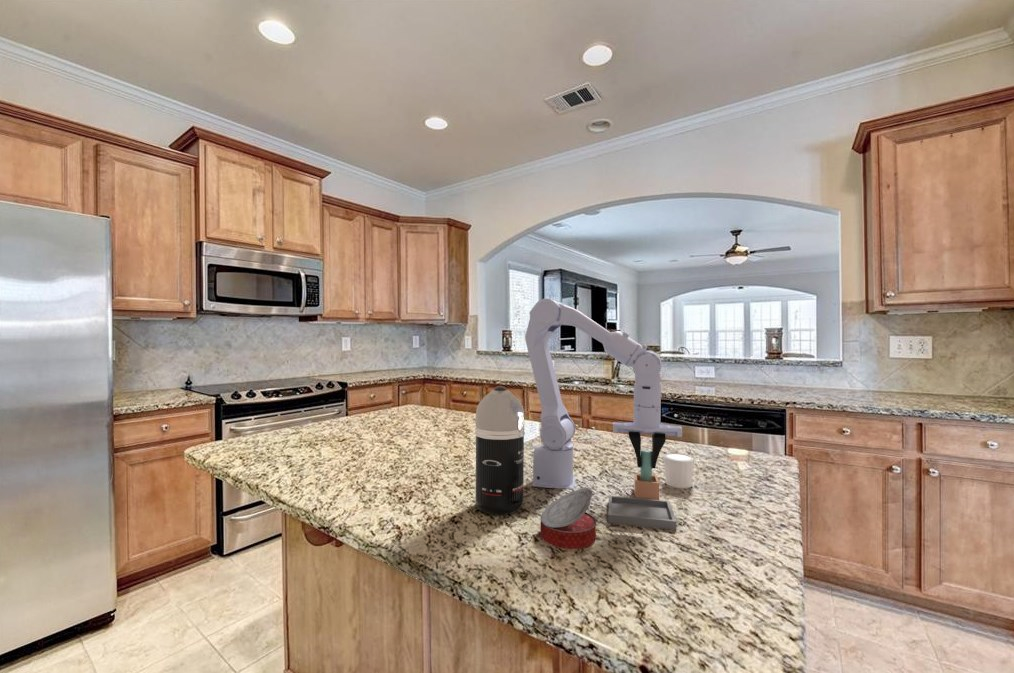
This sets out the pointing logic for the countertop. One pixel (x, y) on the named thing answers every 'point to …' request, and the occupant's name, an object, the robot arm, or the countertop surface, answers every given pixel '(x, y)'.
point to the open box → (646, 488)
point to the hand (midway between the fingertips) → (646, 466)
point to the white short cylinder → (678, 470)
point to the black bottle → (499, 453)
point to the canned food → (569, 521)
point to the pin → (646, 466)
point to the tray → (641, 512)
